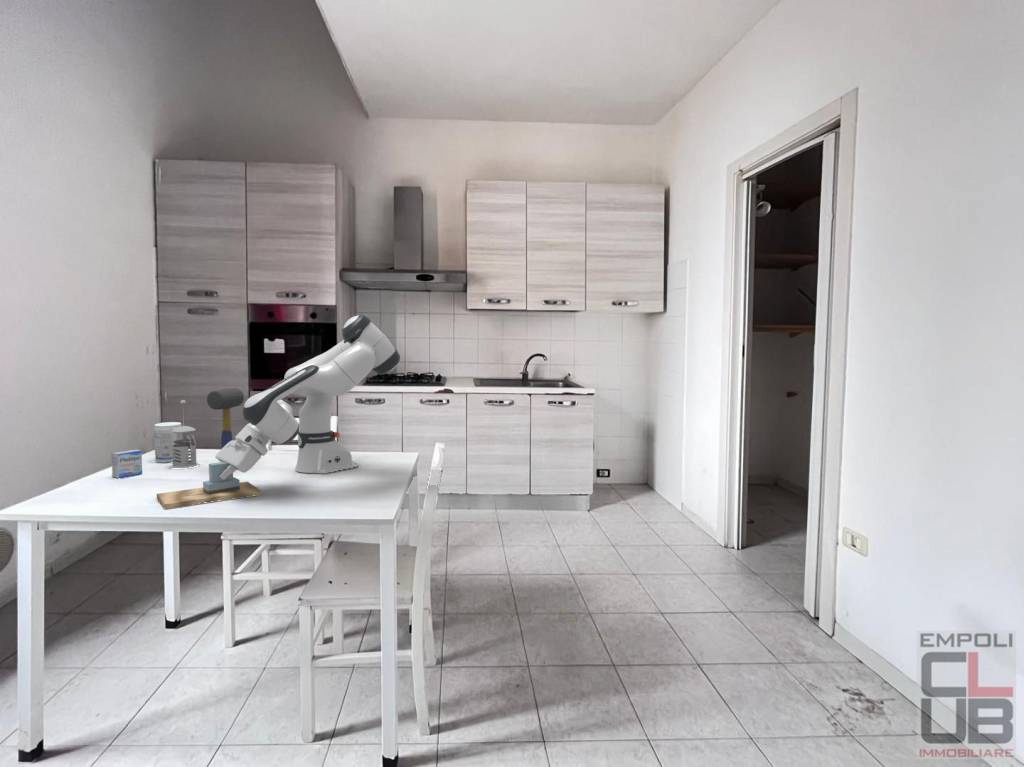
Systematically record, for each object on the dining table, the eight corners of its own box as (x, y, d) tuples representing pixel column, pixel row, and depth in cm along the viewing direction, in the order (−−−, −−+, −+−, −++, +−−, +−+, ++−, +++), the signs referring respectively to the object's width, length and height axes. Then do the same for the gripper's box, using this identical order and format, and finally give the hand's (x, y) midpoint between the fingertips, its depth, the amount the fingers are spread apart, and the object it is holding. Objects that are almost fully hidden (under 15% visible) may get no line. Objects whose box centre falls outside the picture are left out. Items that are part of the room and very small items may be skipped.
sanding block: (233, 486, 190) (233, 459, 189) (239, 489, 186) (239, 462, 186) (203, 491, 184) (202, 463, 183) (208, 494, 180) (208, 466, 179)
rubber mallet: (225, 474, 213) (223, 390, 210) (206, 472, 214) (204, 389, 212) (247, 466, 225) (245, 387, 223) (229, 465, 226) (227, 386, 224)
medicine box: (118, 479, 204) (117, 453, 203) (112, 477, 206) (111, 452, 206) (142, 474, 211) (142, 450, 210) (136, 472, 213) (135, 448, 212)
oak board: (247, 485, 197) (247, 481, 196) (260, 494, 186) (260, 490, 186) (156, 498, 180) (156, 493, 180) (165, 509, 169) (165, 504, 169)
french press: (191, 462, 231) (189, 398, 229) (207, 466, 224) (205, 400, 222) (164, 466, 223) (162, 400, 221) (180, 471, 216) (177, 402, 214)
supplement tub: (175, 457, 240) (173, 421, 239) (188, 460, 235) (187, 423, 234) (150, 461, 232) (148, 424, 230) (163, 464, 227) (162, 426, 225)
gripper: (230, 431, 196) (199, 465, 190) (255, 439, 181) (222, 476, 175) (244, 443, 199) (214, 477, 193) (270, 452, 185) (238, 489, 179)
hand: (218, 477), depth 184 cm, fingers closed on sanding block, 3 cm apart
